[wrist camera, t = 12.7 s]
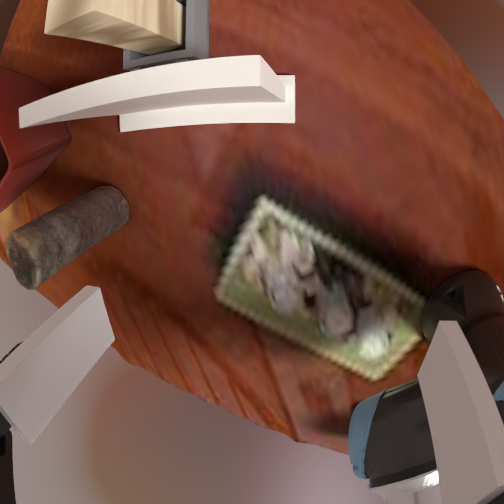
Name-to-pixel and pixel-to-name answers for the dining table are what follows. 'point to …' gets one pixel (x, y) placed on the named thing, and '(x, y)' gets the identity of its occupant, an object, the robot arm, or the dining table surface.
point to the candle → (64, 234)
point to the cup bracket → (176, 88)
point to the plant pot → (24, 137)
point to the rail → (121, 23)
